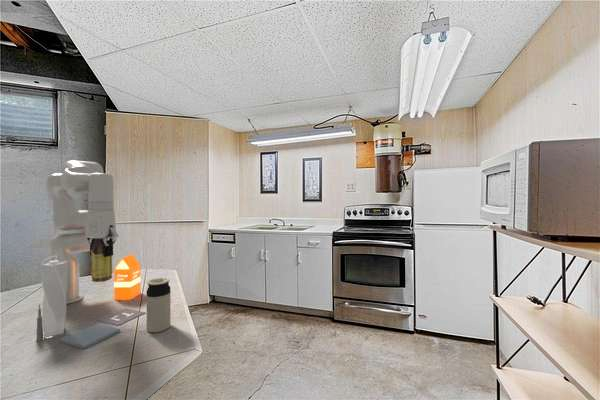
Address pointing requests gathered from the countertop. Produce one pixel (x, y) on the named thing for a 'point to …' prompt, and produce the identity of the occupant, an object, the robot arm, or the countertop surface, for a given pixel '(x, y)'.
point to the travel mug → (158, 305)
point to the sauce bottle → (100, 262)
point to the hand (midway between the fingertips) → (101, 255)
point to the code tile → (121, 316)
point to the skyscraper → (52, 300)
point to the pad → (90, 336)
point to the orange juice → (127, 279)
